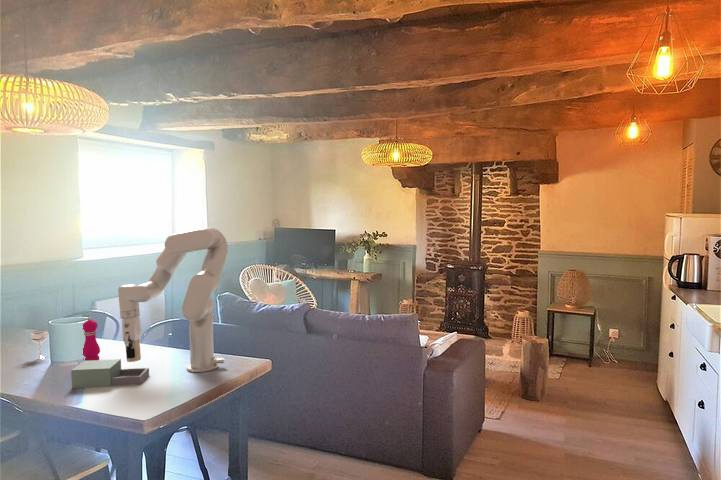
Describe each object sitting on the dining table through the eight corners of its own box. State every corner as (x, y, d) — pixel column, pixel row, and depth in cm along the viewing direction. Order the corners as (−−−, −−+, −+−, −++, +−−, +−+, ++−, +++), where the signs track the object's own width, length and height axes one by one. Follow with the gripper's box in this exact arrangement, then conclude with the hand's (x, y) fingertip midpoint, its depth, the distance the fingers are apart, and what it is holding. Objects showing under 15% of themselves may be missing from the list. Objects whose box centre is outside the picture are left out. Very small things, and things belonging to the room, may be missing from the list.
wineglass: (51, 356, 236) (50, 331, 236) (36, 360, 231) (34, 334, 230) (44, 354, 240) (43, 329, 239) (28, 358, 234) (27, 332, 234)
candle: (143, 358, 218) (141, 335, 217) (133, 362, 213) (131, 339, 212) (134, 357, 220) (132, 335, 220) (123, 361, 215) (121, 338, 215)
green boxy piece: (149, 374, 209) (148, 357, 209) (140, 384, 197) (139, 367, 197) (85, 377, 206) (84, 360, 206) (72, 388, 194) (71, 370, 194)
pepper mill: (92, 363, 225) (90, 318, 224) (78, 362, 226) (76, 318, 225) (104, 358, 232) (102, 315, 231) (90, 358, 234) (88, 315, 232)
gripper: (132, 317, 207) (136, 361, 208) (145, 309, 224) (148, 349, 225) (113, 318, 206) (117, 362, 208) (127, 310, 223) (131, 351, 225)
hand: (133, 355), depth 216 cm, fingers closed on candle, 5 cm apart
